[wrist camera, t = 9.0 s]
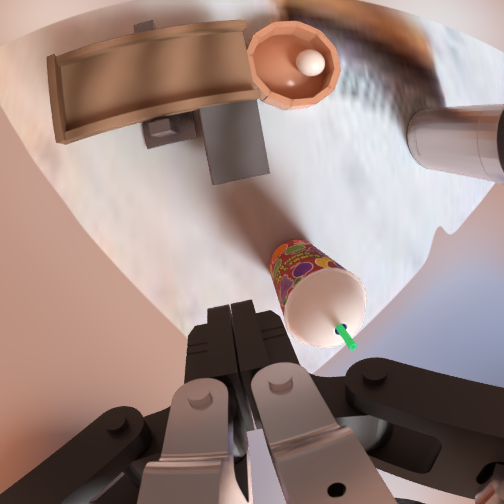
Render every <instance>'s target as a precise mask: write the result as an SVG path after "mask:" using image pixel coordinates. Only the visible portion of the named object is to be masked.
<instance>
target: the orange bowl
mask: <svg viewBox="0 0 504 504" xmlns="http://www.w3.org/2000/svg"><path fill="white" fill-rule="evenodd" d="M319 31H320V30H318V29H316V28H313V27H311V26H309V25H306V24H304V23H302V22H299V21H298V22H297V21H281V22H274V23H273V22H272V23H271V24H269V25H268V26H266V27H264V28H263V29H261V30H260V31H258V32H256V33H255V34H254V35H253V37H252V40H251V42H250V44H249V47H248V49H247V55H248V59H249V64H250V69H251V74H252V79H253V84H254V90H259V89H260V91H261V96H262V97H260V98H259V99H260V100H261V101H263V102H264V103H267V104H269V105H272V106H275V107H277V108H280V109H282V110H292V109H301V108H308V107H310V106H312V105H315V104H317V103H318V102H319V101H321V100H322V99H323V98H325V97H326V96H327V95H329V94H330V93H332V92H333V90H334V89H335V86H336V84H337V81H338V78H339V75H340V72H341V71H340V70H341V68H340V63H339V59H338V55H337V50H336V49H335V47H334V46H333V44H332V43H331V42H330V41H329V40H328V39H327V38H326V36H325V35H324V34H323V33H322V32H321V31H320V32H319ZM308 49H311V50H315V51H317V52H319V53H320V54H321V55H322V56H323V58H324V60H325V67H324V69H323V71H322V72H321V73H320V74H318V75H316V76H307V75H304V74H302V73H301V72H300V71H299V70H298V68H297V66H296V58H297V56H298V54H299V53H300V52H302V51H304V50H308Z"/></svg>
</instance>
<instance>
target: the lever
mask: <svg viewBox="0 0 504 504" xmlns="http://www.w3.org/2000/svg"><path fill="white" fill-rule="evenodd" d="M246 27H247V23H246V20H230V21H216V22H205V23H196V24H188V25H180V26H173V27H167V28H161V29H155V30H150V31H145V32H140V33H135V34H131V35H127V36H122V37H118V38H114V39H110V40H107V41H103V42H99V43H96V44H93V45H89V46H86V47H83V48H80V49H77V50H74V51H71V52H68V53H65V54H62V55H59V56H57V57H56V56H55V54H53V55H50V56H48V57H47V71H48V84H49V94H50V104H51V112H52V119H53V126H54V133H55V139H56V143H61V144H65V145H66V144H69V143H72V142H75V141H78V140H81V139H84V138H87V137H90V136H93V135H97V134H100V133H103V132H107V131H110V130H113V129H117V128H121V127H124V126H128V125H132V124H136V123H140V122H144V121H148V120H152V119H156V118H160V117H165V116H170V115H174V114H179V113H184V112H189V111H194V110H198V113H199V119H200V124H201V129H202V134H203V139H204V145H205V150H206V155H207V160H208V165H209V170H210V175H211V180H212V185H217V184H222V183H226V182H231V181H235V180H240V179H244V178H249V177H254V176H259V175H264V174H269V173H270V171H269V165H268V160H267V154H266V149H265V143H264V137H263V132H262V126H261V121H260V116H259V110H258V105H257V99H259V98H260V97H262V96H261V91H260V89H259V90H254V84H253V79H252V74H251V69H250V64H249V59H248V55H247V50H246V45H245V40H244V35H243V31H244V29H245V28H246Z"/></svg>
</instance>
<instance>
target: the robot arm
mask: <svg viewBox="0 0 504 504" xmlns="http://www.w3.org/2000/svg"><path fill="white" fill-rule="evenodd" d="M407 139H408V145H409V149H410V151H411V154H412V156H413V157H414V159H415V160H416V161H417V163H418V164H420V165H421V166H422V167H424V168H426V169H431V170H437V171H443V172H448V173H453V174H458V175H464V176H469V177H474V178H479V179H483V180H488V181H493V182H497V183H502V184H504V104H496V105H474V106H458V107H445V108H433V109H424V110H420V111H419V112H417V113H416V114H415V115H414V116H413V117H412V119H411V121H410V123H409V126H408V132H407ZM231 310H232V314H231ZM231 310H230V306H229V304H228V305H223V306H219V307H214V308H209V309H208V310H207V324H202V325H197V326H195V327H194V328H193V330H192V331H191V332H190V334H189V335H188V344H187V346H188V347H187V356H186V367H185V380H184V385H183V386H181V387H180V388H179V389H178V390H177V391H176V392H175V394H174V396H173V398H172V403H171V406H170V407H168V408H166V409H164V410H162V411H159V412H156V413H154V414H151V415H148V416H145V417H143V416H142V415H141V413H140V412H139V411H138V410H137V409H135V408H133V407H127V406H121V407H116V408H113V409H110V410H108V411H106V412H105V413H103V414H102V415H101V416H100V417H98V418H97V419H96V420H95V421H93V422H92V423H91V424H90V425H88V426H87V427H86V428H85V429H84V430H82V431H81V432H80V433H79V434H77V435H76V436H75V437H74V438H72V439H71V440H70V441H69V442H67V443H66V444H65V445H64V446H62V447H61V448H60V449H59V450H57V451H56V452H55V453H54V454H52V455H51V456H50V457H49V458H47V459H46V460H45V461H43V462H42V463H41V464H40V465H38V466H37V467H36V468H34V469H33V470H32V471H30V472H29V473H28V474H27V475H25V476H24V477H23V478H21V479H20V480H19V481H18V482H16V483H15V484H13V485H12V486H11V487H9V488H8V489H7V490H5V491H4V492H3V493H2V494H0V504H253V499H252V485H251V468H250V454H249V450H248V438H247V432H246V431H251V430H254V424H253V419H252V414H253V418H254V421H255V425H256V428H257V429H261V428H262V429H263V432H264V436H265V439H266V443H267V446H268V450H269V453H270V456H271V459H272V463H273V466H274V468H275V471H276V474H277V477H278V480H279V483H280V486H281V489H282V492H283V495H284V497H285V501H286V504H425V503H421V502H418V501H414V500H409V499H400V498H394V497H393V495H392V494H391V492H390V490H389V489H388V487H387V486H386V484H385V482H384V481H383V479H382V477H381V476H380V474H379V473H378V471H377V469H380V470H382V471H385V472H388V473H390V474H393V475H395V476H398V477H401V478H404V479H406V480H409V481H412V482H415V483H418V484H421V485H424V486H428V487H431V488H435V489H437V490H441V491H444V492H448V493H451V494H455V495H459V496H463V497H467V498H471V499H475V504H504V388H502V387H497V386H493V385H488V384H483V383H479V382H474V381H470V380H466V379H462V378H458V377H453V376H449V375H445V374H441V373H437V372H433V371H429V370H426V369H422V368H418V367H414V366H411V365H407V364H403V363H399V362H396V361H393V360H389V359H385V358H367V359H363V360H361V361H359V362H356V363H355V364H354V365H352V366H351V367H350V368H349V369H348V371H347V373H346V376H343V377H319V376H315V375H312V374H310V373H308V372H307V370H306V369H305V368H303V367H302V366H301V365H300V364H299V361H298V359H297V356H296V354H295V352H294V349H293V347H292V344H291V342H290V339H289V337H288V335H287V332H286V330H285V327H284V325H283V323H282V320H281V318H280V316H278V315H277V314H276V313H274V312H273V311H271V310H269V311H265V312H260V313H256V312H255V309H254V305H253V302H252V300H247V301H242V302H237V303H233V304H231ZM251 411H252V413H251ZM376 468H377V469H376ZM121 472H123V473H124V474H125V475H124V476H123V477H121V478H120V479H119V480H118V481H117V482H116V483H115V484H114V485H113V486H112V487H111V488H109V489H108V490H107V491H106V492H105V493H104V494H103V495H102V496H101V497H99V498H98V499H97V500H95V501H93V502H90V501H91V499H92V498H93V497H94V496H96V495H97V494H98V493H99V492H100V491H101V490H102V489H104V488H105V487H106V486H107V485H108V484H109V483H110V482H111V481H113V480H114V479H115V478H116V477H117V476H118V475H119V474H120V473H121Z"/></svg>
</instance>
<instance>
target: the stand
mask: <svg viewBox="0 0 504 504" xmlns="http://www.w3.org/2000/svg"><path fill="white" fill-rule="evenodd" d="M155 29H157V28H156V26H155V24H154V21H153V20H151V21H147V22H144V23H140V24H137V25H134V32H135V33H140V32H145V31H150V30H155ZM142 123H143V128H144V133H145V139H146V144H147V149H151V148H155V147H159V146H162V145H166V144H171V143H175V142H179V141H183V140H188V139H192V138H197V135H196V130H195V125H194V119H193V114H192V111H189V112H184V113H179V114H174V115H170V116H165V117H160V118H156V119H152V120H148V121H144V122H142Z"/></svg>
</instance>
